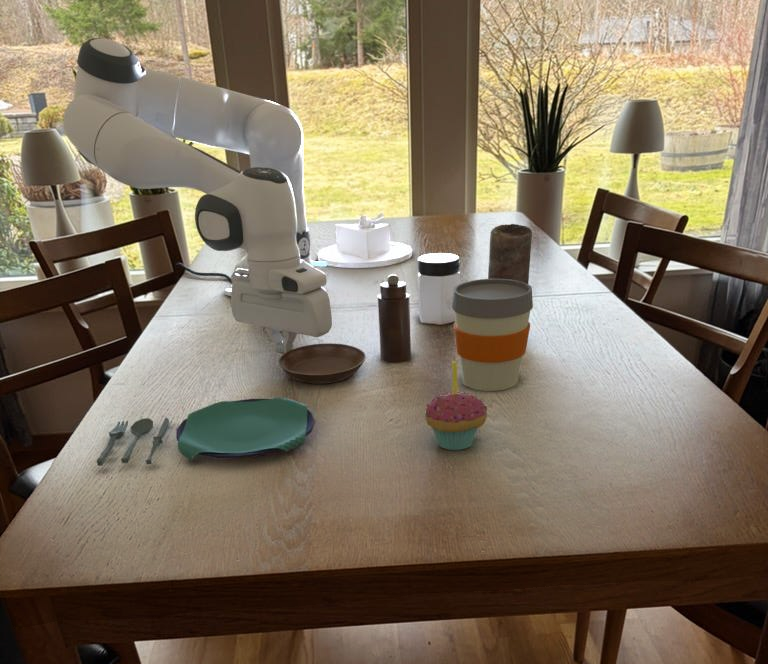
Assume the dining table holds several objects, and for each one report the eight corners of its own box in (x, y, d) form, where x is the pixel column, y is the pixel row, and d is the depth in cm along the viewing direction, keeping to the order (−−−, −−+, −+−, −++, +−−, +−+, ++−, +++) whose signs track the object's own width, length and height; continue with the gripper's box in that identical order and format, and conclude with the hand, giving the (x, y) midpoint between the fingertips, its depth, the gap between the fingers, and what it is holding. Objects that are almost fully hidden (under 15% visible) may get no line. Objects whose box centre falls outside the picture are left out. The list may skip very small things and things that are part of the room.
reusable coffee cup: (483, 401, 122) (485, 305, 114) (436, 378, 131) (435, 287, 123) (545, 382, 127) (551, 289, 120) (495, 361, 136) (498, 274, 129)
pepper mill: (374, 359, 140) (370, 276, 133) (391, 350, 144) (388, 269, 136) (400, 364, 137) (397, 280, 130) (416, 355, 141) (414, 272, 134)
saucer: (366, 386, 129) (366, 370, 128) (276, 391, 129) (274, 375, 128) (365, 355, 142) (365, 341, 141) (283, 359, 142) (282, 345, 140)
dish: (428, 250, 212) (428, 205, 206) (378, 271, 194) (376, 224, 188) (353, 242, 224) (350, 200, 218) (299, 262, 206) (295, 217, 200)
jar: (433, 328, 154) (432, 265, 148) (409, 318, 160) (407, 258, 154) (469, 318, 158) (469, 257, 152) (444, 309, 164) (444, 250, 158)
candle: (529, 335, 148) (535, 224, 137) (522, 348, 142) (527, 232, 131) (489, 333, 150) (492, 223, 140) (480, 345, 144) (483, 231, 134)
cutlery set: (315, 463, 106) (313, 448, 105) (90, 478, 105) (86, 463, 104) (316, 405, 123) (315, 392, 122) (123, 418, 122) (120, 404, 121)
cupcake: (421, 432, 113) (420, 352, 107) (480, 428, 113) (482, 347, 107) (430, 459, 106) (428, 374, 99) (492, 454, 106) (495, 369, 100)
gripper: (217, 271, 135) (229, 348, 142) (309, 285, 125) (317, 368, 132) (243, 262, 140) (253, 338, 147) (334, 275, 129) (340, 356, 136)
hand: (284, 352), depth 139 cm, fingers closed
